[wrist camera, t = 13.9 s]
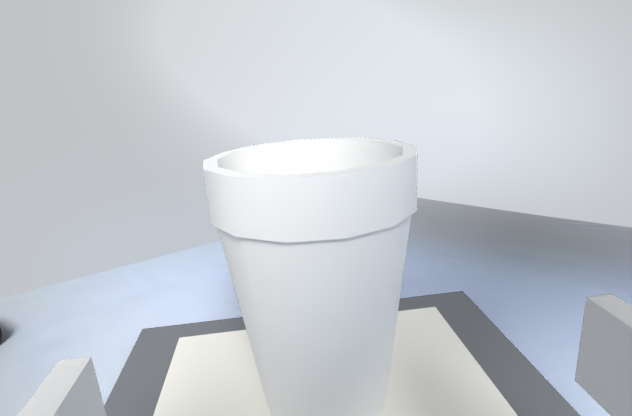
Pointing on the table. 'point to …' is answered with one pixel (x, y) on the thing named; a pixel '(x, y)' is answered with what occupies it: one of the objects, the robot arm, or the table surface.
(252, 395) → the picture frame
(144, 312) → the table surface
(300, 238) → the foam cup
